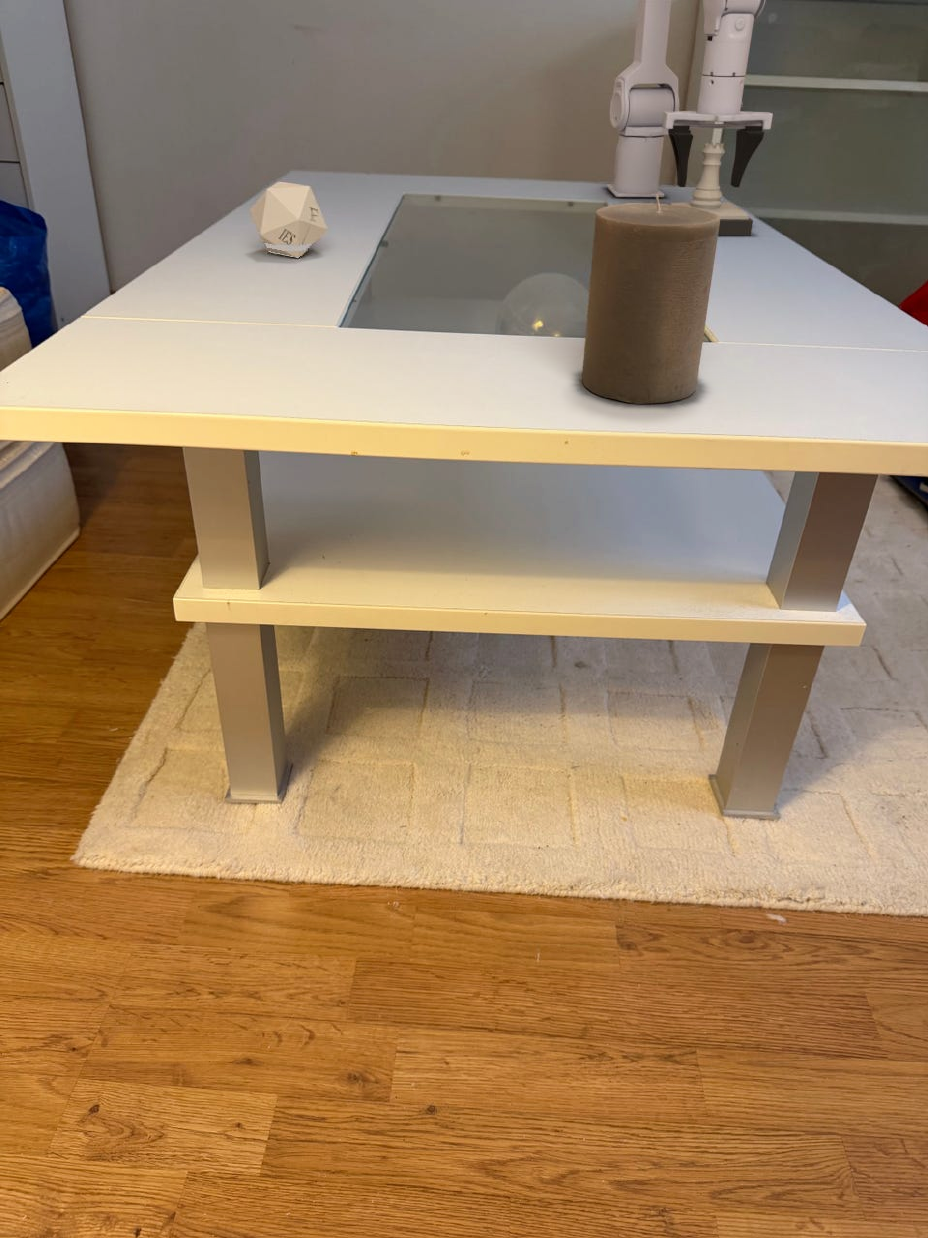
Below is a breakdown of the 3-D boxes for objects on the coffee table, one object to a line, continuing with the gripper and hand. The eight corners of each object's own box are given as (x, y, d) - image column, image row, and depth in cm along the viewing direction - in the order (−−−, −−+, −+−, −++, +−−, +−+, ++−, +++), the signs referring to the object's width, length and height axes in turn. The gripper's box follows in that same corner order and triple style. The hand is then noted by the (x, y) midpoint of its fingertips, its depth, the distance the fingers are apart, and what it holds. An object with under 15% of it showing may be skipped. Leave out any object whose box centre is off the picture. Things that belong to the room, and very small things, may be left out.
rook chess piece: (724, 208, 134) (734, 145, 129) (692, 208, 134) (701, 145, 129) (718, 203, 137) (727, 141, 133) (687, 202, 137) (695, 141, 133)
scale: (663, 220, 140) (665, 201, 138) (730, 220, 140) (733, 201, 138) (679, 235, 131) (681, 215, 129) (750, 235, 131) (754, 215, 130)
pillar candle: (619, 411, 76) (640, 210, 68) (561, 373, 83) (573, 188, 75) (720, 395, 79) (751, 201, 71) (655, 359, 87) (677, 181, 78)
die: (261, 270, 115) (305, 201, 110) (224, 221, 118) (265, 151, 113) (309, 282, 122) (352, 218, 117) (273, 236, 125) (314, 171, 120)
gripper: (676, 77, 123) (663, 190, 130) (786, 78, 123) (767, 190, 131) (664, 73, 129) (652, 181, 136) (770, 73, 129) (752, 182, 137)
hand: (708, 185), depth 134 cm, fingers open, 7 cm apart
